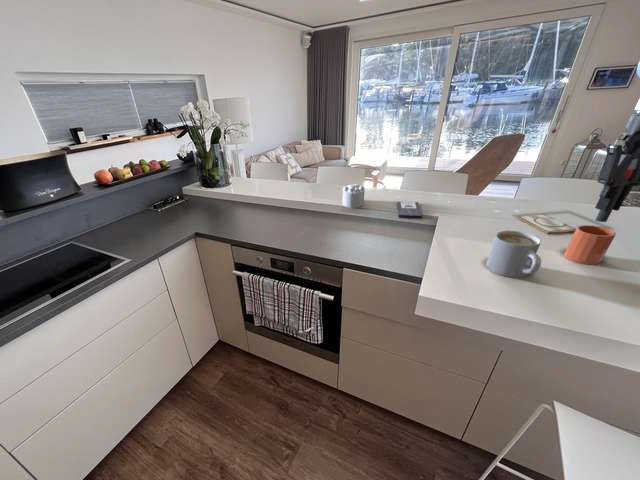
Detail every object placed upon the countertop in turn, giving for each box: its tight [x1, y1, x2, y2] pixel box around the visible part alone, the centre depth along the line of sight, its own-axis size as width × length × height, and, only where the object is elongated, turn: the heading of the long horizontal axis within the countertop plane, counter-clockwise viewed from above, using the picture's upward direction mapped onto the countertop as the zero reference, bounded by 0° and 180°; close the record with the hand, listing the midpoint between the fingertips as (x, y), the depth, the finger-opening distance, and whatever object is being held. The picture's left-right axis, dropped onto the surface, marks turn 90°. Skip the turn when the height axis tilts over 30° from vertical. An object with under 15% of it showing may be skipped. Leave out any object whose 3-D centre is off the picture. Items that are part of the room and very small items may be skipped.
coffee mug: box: [485, 230, 542, 279], centre depth 80 cm, size 13×10×10 cm
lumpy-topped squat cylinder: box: [342, 183, 366, 209], centre depth 142 cm, size 10×13×9 cm
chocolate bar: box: [396, 201, 423, 219], centre depth 129 cm, size 9×1×18 cm
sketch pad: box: [515, 213, 577, 235], centre depth 106 cm, size 20×16×1 cm
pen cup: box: [563, 224, 617, 266], centre depth 83 cm, size 8×8×9 cm
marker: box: [595, 168, 634, 223], centre depth 76 cm, size 2×2×14 cm
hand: (606, 208), depth 78 cm, fingers closed on marker, 2 cm apart
